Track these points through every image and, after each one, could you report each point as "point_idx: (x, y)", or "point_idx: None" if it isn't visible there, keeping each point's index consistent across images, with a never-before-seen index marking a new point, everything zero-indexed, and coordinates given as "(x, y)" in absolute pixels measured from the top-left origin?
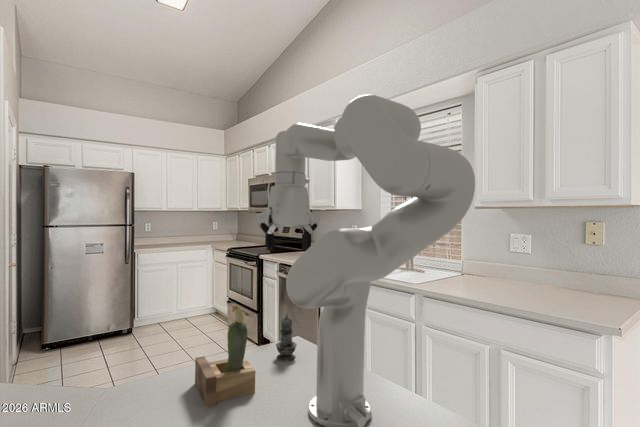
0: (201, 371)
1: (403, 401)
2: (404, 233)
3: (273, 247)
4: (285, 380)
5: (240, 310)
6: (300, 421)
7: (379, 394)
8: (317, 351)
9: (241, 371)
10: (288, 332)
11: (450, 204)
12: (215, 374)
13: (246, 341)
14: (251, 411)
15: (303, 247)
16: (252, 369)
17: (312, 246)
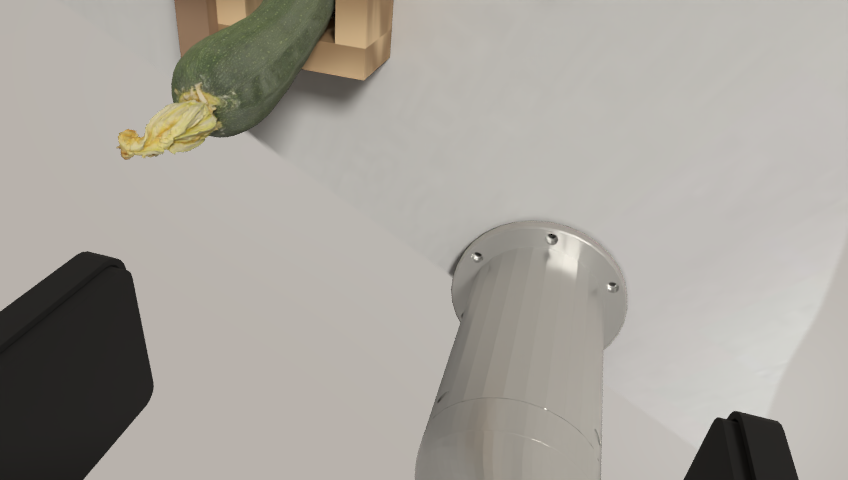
0: None
1: (731, 368)
2: None
3: (121, 423)
4: (530, 38)
5: (167, 148)
6: (428, 259)
7: (716, 308)
8: (446, 375)
9: (314, 59)
10: None
11: None
12: (227, 25)
13: (283, 92)
14: (341, 148)
15: (700, 473)
16: (356, 67)
17: None
